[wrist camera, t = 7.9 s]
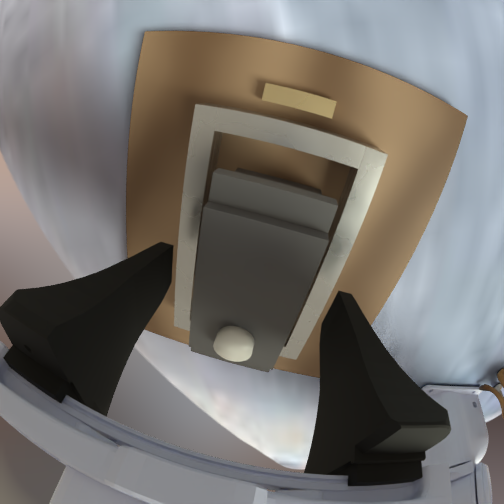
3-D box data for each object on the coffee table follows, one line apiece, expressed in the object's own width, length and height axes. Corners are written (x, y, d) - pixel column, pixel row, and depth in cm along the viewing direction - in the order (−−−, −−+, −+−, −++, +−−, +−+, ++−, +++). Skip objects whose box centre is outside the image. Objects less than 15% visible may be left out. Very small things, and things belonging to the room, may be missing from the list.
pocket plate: (458, 113, 10) (483, 119, 8) (331, 369, 21) (331, 395, 19) (154, 34, 11) (128, 27, 8) (139, 317, 21) (125, 338, 19)
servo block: (327, 170, 12) (342, 220, 8) (278, 312, 17) (265, 390, 12) (242, 147, 12) (201, 183, 8) (214, 295, 17) (183, 367, 12)
